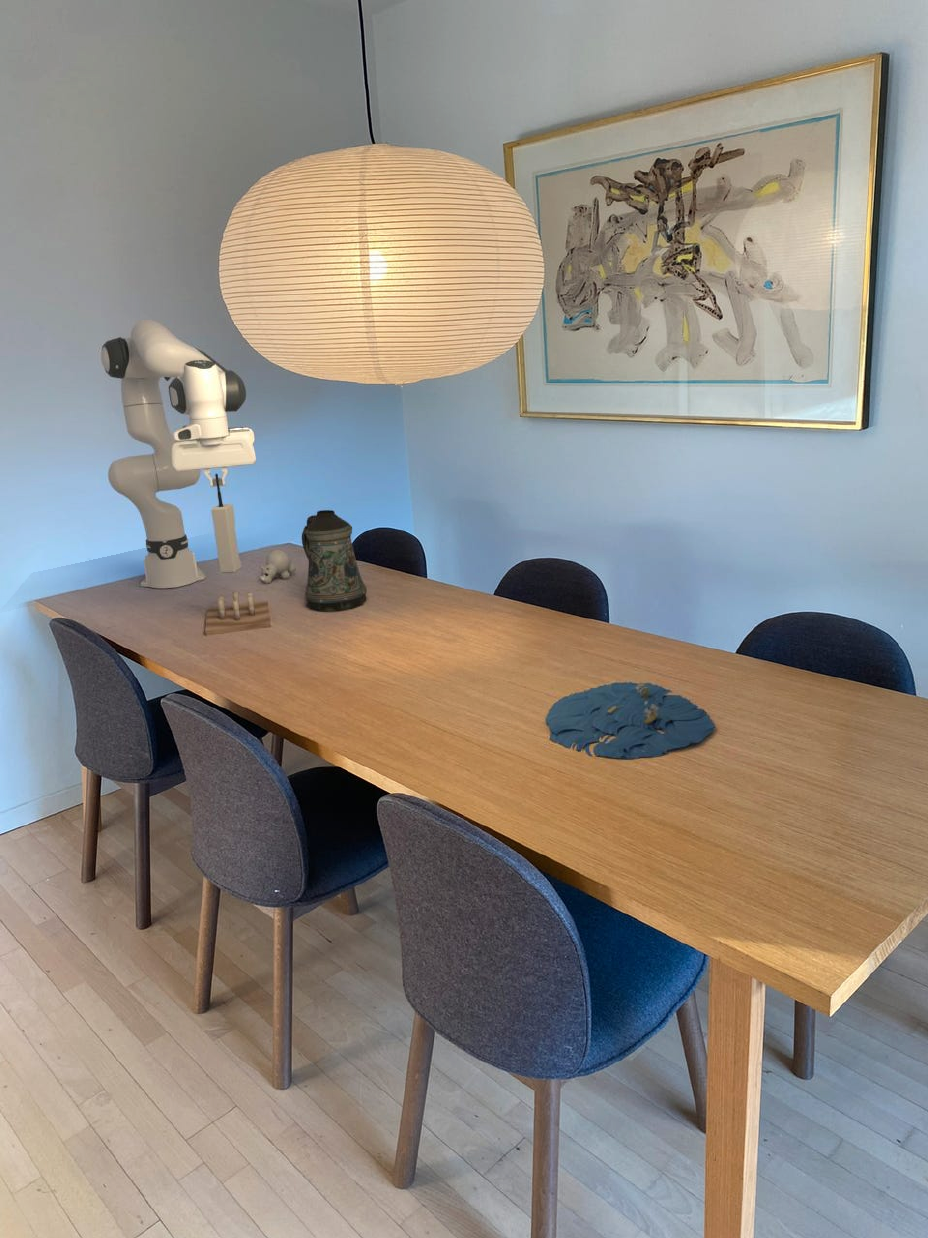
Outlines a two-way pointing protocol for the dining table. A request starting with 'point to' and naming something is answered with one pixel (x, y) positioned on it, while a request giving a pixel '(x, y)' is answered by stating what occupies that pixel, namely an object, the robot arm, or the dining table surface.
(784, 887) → the dining table surface
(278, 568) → the round bodied animal figurine
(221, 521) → the vintage mobile phone
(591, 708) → the decorative plate
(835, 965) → the dining table surface
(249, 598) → the pin dock
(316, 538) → the beer stein
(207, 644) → the dining table surface
